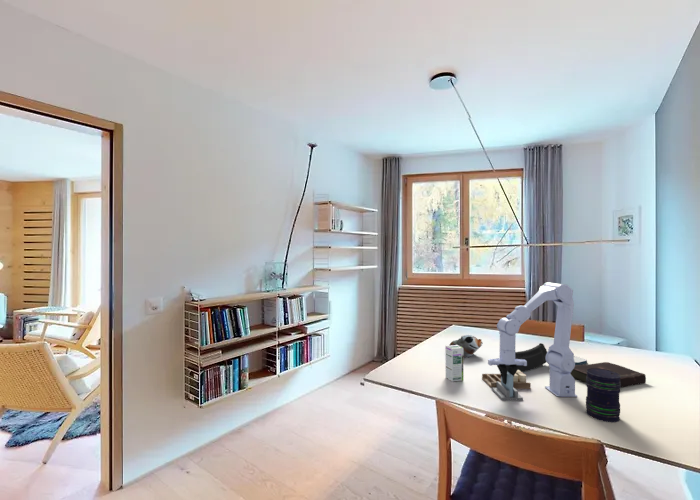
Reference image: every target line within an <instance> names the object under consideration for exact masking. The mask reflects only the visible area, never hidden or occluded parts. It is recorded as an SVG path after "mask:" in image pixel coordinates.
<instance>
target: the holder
mask: <svg viewBox="0 0 700 500" xmlns="http://www.w3.org/2000/svg"><path fill="white" fill-rule="evenodd" d="M491 390H492V392H493V393H495V395H496V396H497V397H498V398H499V399H500V400H501V401H524V397H523V396H521V395H520V394H519V391H518V390H517V389H515V388H514V387H513V397H510V391H509V390H508V389H507V388H506V387H505V386H503V385H502V384H501V383H500V382H499V381H497V388H491Z"/></svg>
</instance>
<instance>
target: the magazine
mask: <svg viewBox="0 0 700 500" xmlns="http://www.w3.org/2000/svg"><path fill="white" fill-rule="evenodd" d="M546 349H547V348H546V346H545V344H544V343H538V345H536V346H534V347H532V348H529V349H526V350H520V351H515V359H522V360H526V361H527V366H524V365H517V367H518V370H520V371H521V372H522V373H524V372H530V371H531V370H535V369H537V368H539V367H544V364H546V363H547V362H546V354H547V350H546ZM505 366H506V368H507V365H505Z"/></svg>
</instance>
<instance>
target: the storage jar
mask: <svg viewBox="0 0 700 500" xmlns="http://www.w3.org/2000/svg"><path fill="white" fill-rule="evenodd" d="M585 384H586V397H585V407H586V409H585V410H586V411H585V413H586V414H587V416H589V417H591V418H592V419H595V420H597V421H601V422H606V423H617V422H619V421H621V420H620V419H621V418H620V416H621V403H620V393H621V389H622V387H621V383H620V375H619V374H618V373H616V372H613V371H610V370H605V369H598V368H590V369H587V377H586V383H585ZM620 387H621V388H620Z"/></svg>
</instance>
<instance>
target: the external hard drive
mask: <svg viewBox="0 0 700 500" xmlns="http://www.w3.org/2000/svg"><path fill="white" fill-rule="evenodd" d="M546 350H547V352H548V350H549V348H546ZM574 361H575V365H588V360H587V358H584V357H580V356H576V355H574Z"/></svg>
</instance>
